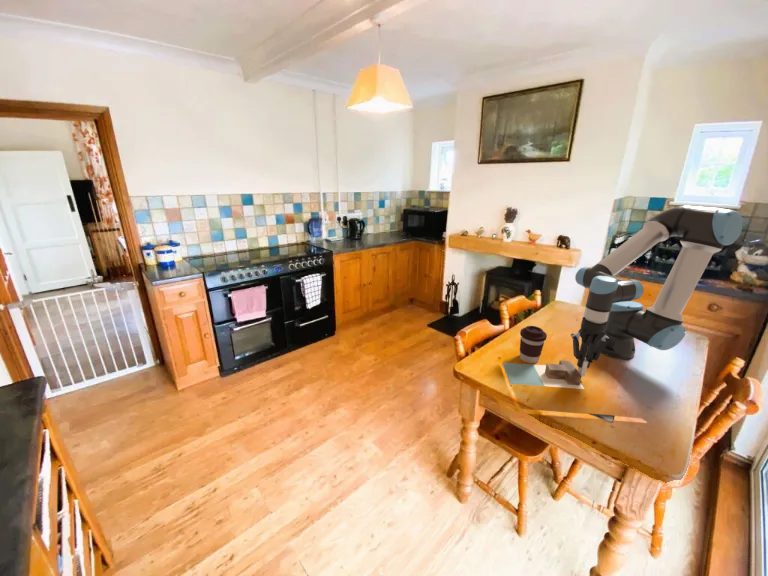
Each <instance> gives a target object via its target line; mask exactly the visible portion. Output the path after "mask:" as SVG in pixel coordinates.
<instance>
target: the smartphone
mask: <svg viewBox="0 0 768 576" xmlns="http://www.w3.org/2000/svg"><path fill="white" fill-rule="evenodd" d="M588 415H589V416H593V417H595V418H597V419H600V420H603V421H605V422H607V423H611V424H612V423H614V422H615V417H616V416H615V414H614V415H611V414H600V413H588Z"/></svg>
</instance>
